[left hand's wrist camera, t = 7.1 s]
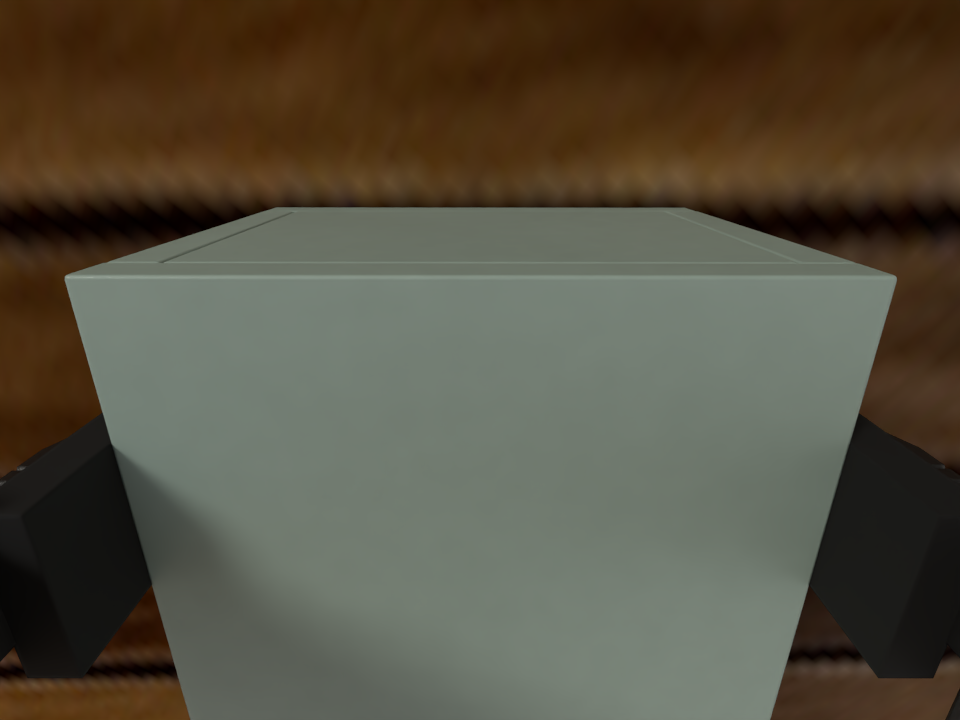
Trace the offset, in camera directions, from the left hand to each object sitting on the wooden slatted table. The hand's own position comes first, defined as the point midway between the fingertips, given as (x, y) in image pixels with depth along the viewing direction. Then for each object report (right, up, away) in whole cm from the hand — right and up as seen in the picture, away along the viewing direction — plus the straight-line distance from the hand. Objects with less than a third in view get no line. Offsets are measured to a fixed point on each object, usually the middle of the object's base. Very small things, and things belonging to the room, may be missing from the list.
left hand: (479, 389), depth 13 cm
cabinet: (0, -3, +5) cm, 6 cm away
